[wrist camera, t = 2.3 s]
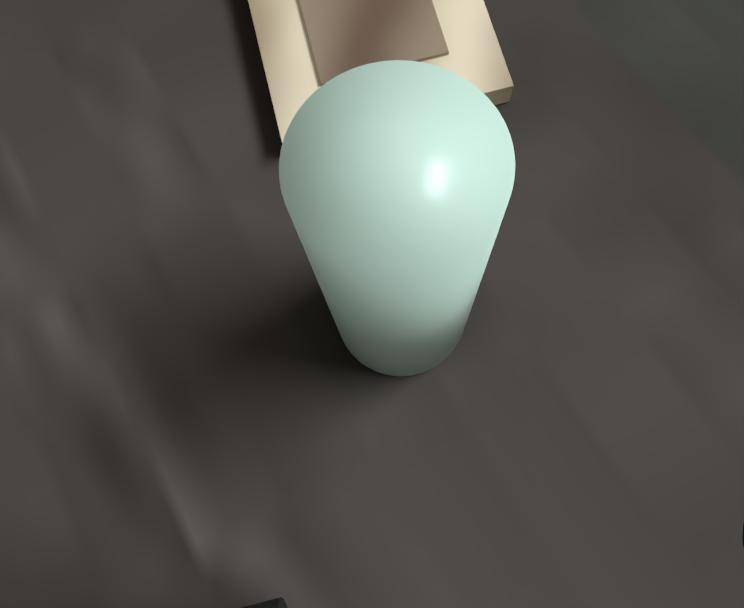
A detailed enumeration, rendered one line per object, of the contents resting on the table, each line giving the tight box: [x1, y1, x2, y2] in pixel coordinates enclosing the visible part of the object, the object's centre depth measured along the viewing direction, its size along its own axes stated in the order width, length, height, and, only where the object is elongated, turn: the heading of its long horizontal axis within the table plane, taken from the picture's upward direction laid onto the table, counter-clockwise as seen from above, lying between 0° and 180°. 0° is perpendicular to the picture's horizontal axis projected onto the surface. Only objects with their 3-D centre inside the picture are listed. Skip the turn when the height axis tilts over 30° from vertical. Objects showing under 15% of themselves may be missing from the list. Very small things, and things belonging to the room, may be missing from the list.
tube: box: [279, 60, 515, 377], centre depth 21 cm, size 5×5×13 cm
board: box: [248, 0, 514, 143], centre depth 30 cm, size 10×10×1 cm
